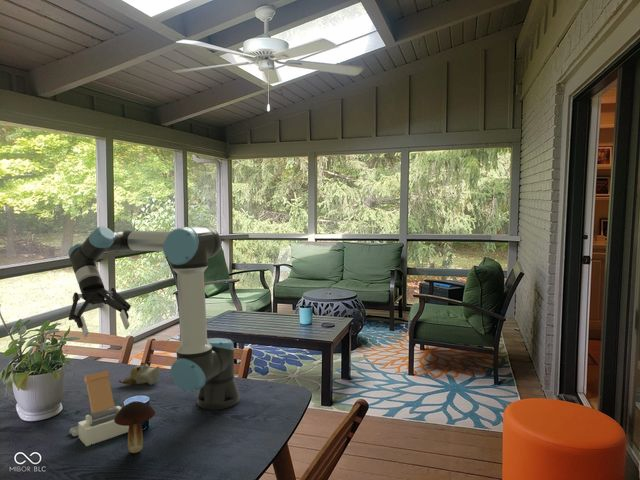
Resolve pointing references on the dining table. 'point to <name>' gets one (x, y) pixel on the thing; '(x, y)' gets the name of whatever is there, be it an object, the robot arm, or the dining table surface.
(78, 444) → the dining table surface
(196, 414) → the dining table surface
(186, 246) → the robot arm
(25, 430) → the dining table surface
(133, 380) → the ceramic sculpture
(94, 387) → the lever
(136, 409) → the decorative mushroom
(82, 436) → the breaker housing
